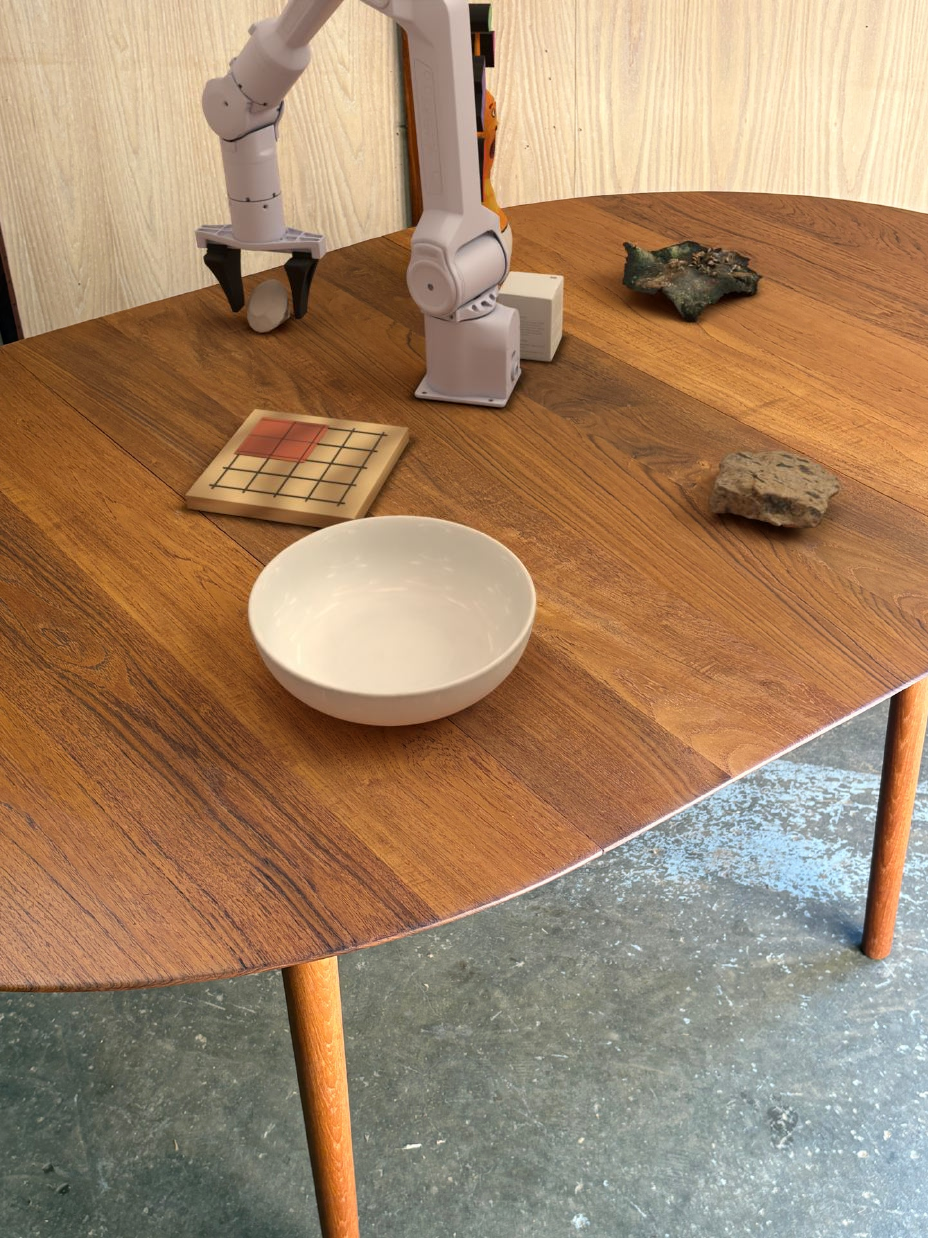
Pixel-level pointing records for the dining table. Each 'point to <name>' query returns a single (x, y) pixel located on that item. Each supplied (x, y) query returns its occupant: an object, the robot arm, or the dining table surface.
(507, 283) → the product box
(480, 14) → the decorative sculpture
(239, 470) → the board
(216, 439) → the dining table surface
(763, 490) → the rock
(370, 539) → the serving bowl
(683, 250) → the decorative rock
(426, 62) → the robot arm
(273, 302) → the gemstone
